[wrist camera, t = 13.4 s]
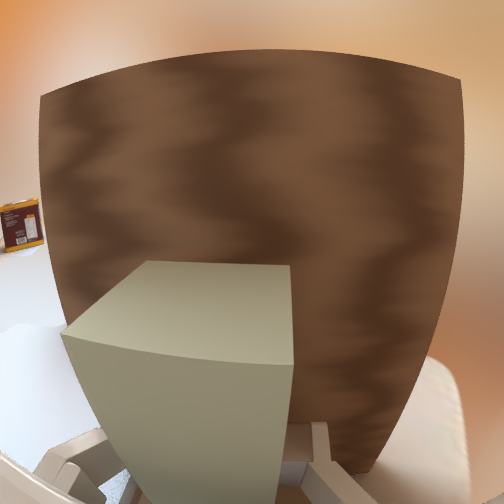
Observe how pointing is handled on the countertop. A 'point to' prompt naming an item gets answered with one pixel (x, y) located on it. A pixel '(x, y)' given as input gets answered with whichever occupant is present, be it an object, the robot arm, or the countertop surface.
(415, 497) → the countertop surface
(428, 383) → the countertop surface
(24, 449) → the countertop surface
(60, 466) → the robot arm
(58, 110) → the wooden backboard tray
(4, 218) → the supplement box
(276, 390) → the cream block on base
